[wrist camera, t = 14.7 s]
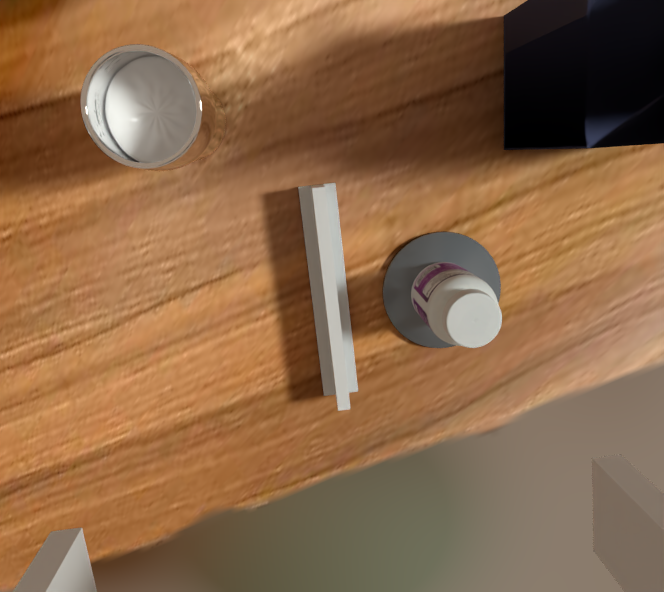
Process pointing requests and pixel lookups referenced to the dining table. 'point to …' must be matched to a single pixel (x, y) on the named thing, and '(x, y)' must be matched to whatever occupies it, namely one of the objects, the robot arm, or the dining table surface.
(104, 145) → the beer glass
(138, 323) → the dining table surface
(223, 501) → the dining table surface
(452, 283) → the pill bottle
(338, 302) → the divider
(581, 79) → the vase
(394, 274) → the coaster
